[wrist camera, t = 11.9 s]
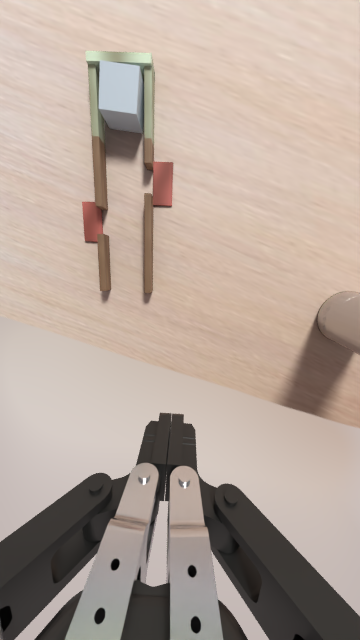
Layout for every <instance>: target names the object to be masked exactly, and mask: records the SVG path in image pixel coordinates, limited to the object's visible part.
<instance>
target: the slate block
mask: <svg viewBox="0 0 360 640" xmlns="http://www.w3.org/2000/svg"><path fill="white" fill-rule="evenodd" d="M99 110H100V112H101V114H102V116H103V117H104V119H105V121H106V123H107V125H108V126H109V128H110V129H114V130H121V131H128V132H135V133H142V134H143V124H144V83H143V79H142V74H141V70H140V66H137V65H130V64H123V63H116V62H109V61H103V60H100V72H99Z"/></svg>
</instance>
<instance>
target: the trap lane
mask: <svg viewBox="0 0 360 640" xmlns="http://www.w3.org/2000/svg"><path fill="white" fill-rule="evenodd" d="M100 60H103V61H109V62H116V63H123V64H130V65H137V66H140V70H141V74H142V79H143V81H144V163H145V165H146V168H147V170H153V197H152V194H149V193H144V293H151V292H152V291H153V205H160V206H172V180H173V163H172V162H154V82H155V73H154V66H153V60H152V54H151V53H134V52H106V51H86V61H87V63H88V76H89V94H90V112H91V131H92V149H93V167H94V186H95V202H82V205H83V220H84V234H85V241H92V242H98V259H99V277H100V291H108V290H110V289H111V276H110V252H109V236H107V235H105V234H103V226H102V210H108V203H107V179H106V155H105V131H104V117H103V116H102V114H101V112H100V110H99V72H100Z"/></svg>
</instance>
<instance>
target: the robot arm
mask: <svg viewBox="0 0 360 640" xmlns="http://www.w3.org/2000/svg"><path fill="white" fill-rule="evenodd" d="M317 322H318V327H319V330H320V331H321V333H322V334H323V335H324V336H326V337H327V338H329V339H331V340H333V341H335V342H337V343H338V344H340V345H342V346H344V347H346V348H348V349H350V350H351V351H353V352H355V353H357V354H359V355H360V293H358V292H352V291H345V292H340V293H337V294H335V295H333V296H332V297H330V298H329V299H328V300H326V302H325V303H324V304H323V305H322V307H321V309H320V310H319V313H318V319H317ZM183 417H184V415H183V414H172V422H171V413H160V416H159V421H151V422H150V423H149V424H148V425H147V426H146V429H145V432H144V437H143V441H142V444H141V448H140V452H139V456H138V460H137V464H136V466H135V467H134V468H133V470H132V471H131V473H129V474H128V475H126V476H124V477H122V478H118V479H114V480H111V478H110V476H108V475H107V474H104V473H96V474H93V475H91V476H90V477H88V478H87V479H85V480H84V481H83V482H81V483H80V484H79V485H77V486H76V487H75V488H73V489H72V490H71V491H69V492H68V493H66V494H65V495H64V496H62V497H61V498H60V499H58V500H57V501H55V502H54V503H53V504H51V505H50V506H49V507H47V508H46V509H45V510H43V511H42V512H41V513H39V514H38V515H37V516H35V517H34V518H32V519H31V520H30V521H28V522H27V523H26V524H24V525H23V526H21V527H20V528H19V529H17V530H16V531H15V532H13V533H12V534H11V535H9V536H8V537H6V538H5V539H4V540H3V541H1V542H0V640H14V639H15V638H16V637H17V636H18V635H19V634H20V633H21V632H22V631H23V630H24V629H25V628H26V627H27V626H28V625H29V624H30V622H31V621H32V620H33V619H34V618H35V617H36V616H37V615H38V614H39V613H40V612H41V611H42V610H43V609H44V608H45V607H46V606H47V605H48V604H49V603H50V602H51V600H52V599H53V598H54V597H55V596H56V595H57V594H58V593H59V592H60V591H61V590H62V589H63V588H64V587H65V586H66V585H67V584H68V583H69V582H70V581H71V580H72V578H74V577H75V576H76V574H77V573H78V572H79V571H80V570H81V569H82V568H83V567H84V566H85V565H86V564H87V563H88V562H89V561H90V560H91V559H92V558H93V557H94V555H95V554H97V555H96V557H95V560H94V563H93V565H92V568H91V571H90V574H89V576H88V579H87V582H86V584H85V587H84V590H82V591H81V592H79V593H78V594H76V595H75V596H74V597H73V598H72V599H70V600H69V601H68V602H67V603H66V604H65V605H64V606H63V607H62V608H61V610H60V611H59V612H58V613H57V614H56V615H55V616H54V618H53V619H52V620H51V621H50V622H49V623H48V625H47V626H46V627H45V628H44V629H43V630H42V632H41V633H40V634H39V635H38V636H37V637H36V639H35V640H248V639H247V637H246V636H245V634H244V632H243V630H242V628H241V627H240V625H239V624H238V622H237V620H236V619H235V617H234V616H233V615H232V613H231V612H230V611H229V610H228V609H227V607H226V606H225V605H224V604H223V603H222V602H221V601H219V600H218V598H217V591H216V584H215V576H214V569H213V562H212V554H211V550H212V552H213V554H214V555H215V557H216V559H217V560H218V562H219V563H220V564H221V566H222V568H223V569H224V571H225V572H226V574H227V575H228V577H229V578H230V580H231V582H232V583H233V584H234V586H235V588H236V589H237V591H238V592H239V594H240V595H241V597H242V598H243V600H244V601H245V603H246V604H247V606H248V608H249V609H250V611H251V612H252V614H253V615H254V616H255V618H256V620H257V621H258V623H259V624H260V626H261V627H262V629H263V630H264V632H265V634H266V635H267V637H268V638H269V640H360V616H359V615H358V614H357V613H356V612H355V611H354V610H353V609H352V608H351V607H350V606H349V605H348V604H347V603H346V602H345V600H344V599H343V598H342V597H341V596H340V595H339V594H338V593H337V592H336V591H335V590H334V589H333V588H332V587H331V586H330V585H329V584H328V582H327V581H326V580H325V579H324V578H323V577H322V576H321V575H320V574H319V573H318V572H317V571H316V570H315V569H314V568H313V567H312V566H311V564H310V563H309V562H308V561H307V560H306V559H305V558H304V557H303V556H302V555H301V554H300V553H299V552H298V551H297V550H296V549H295V548H294V546H293V545H292V544H291V543H290V542H289V541H288V540H287V539H286V538H285V537H284V536H283V535H282V534H281V533H280V532H279V531H278V530H277V528H276V527H275V526H273V524H272V523H271V522H270V521H269V520H268V519H267V518H266V517H265V516H264V515H263V514H262V513H261V511H260V510H259V509H258V508H257V507H256V506H255V505H254V504H253V503H252V502H251V501H250V500H249V499H248V498H247V497H246V496H245V495H244V493H243V492H242V491H241V490H240V489H238V488H237V487H236V486H234V485H232V484H222V485H220V486H219V487H218V488H216V487H213V486H211V485H209V484H207V483H206V482H204V481H203V480H202V479H201V478H200V476H199V474H198V472H197V460H196V439H195V429H194V427H193V426H192V424H186V423H183ZM170 431H171V432H170ZM166 474H167V476H166ZM165 484H166V494H165ZM164 494H165V501H169V503H168V519H167V578H166V579H167V580H166V584H163V585H160V586H156V587H151V586H149V585H146V584H145V583H146V574H147V568H148V562H149V557H150V552H151V546H152V541H153V536H154V530H155V525H156V519H157V514H158V509H159V501H164Z"/></svg>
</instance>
